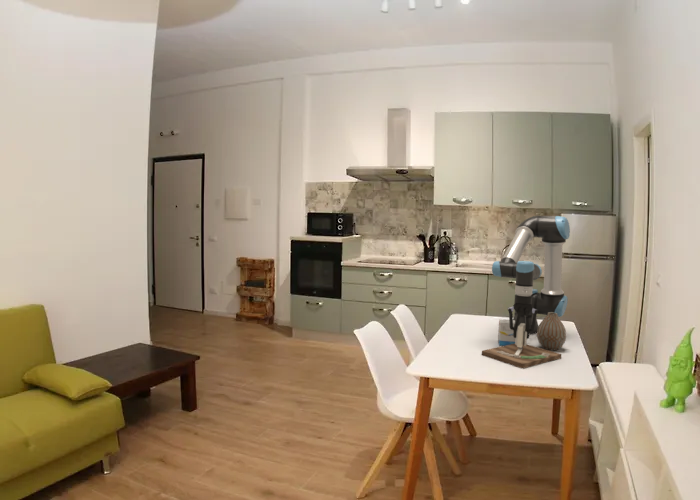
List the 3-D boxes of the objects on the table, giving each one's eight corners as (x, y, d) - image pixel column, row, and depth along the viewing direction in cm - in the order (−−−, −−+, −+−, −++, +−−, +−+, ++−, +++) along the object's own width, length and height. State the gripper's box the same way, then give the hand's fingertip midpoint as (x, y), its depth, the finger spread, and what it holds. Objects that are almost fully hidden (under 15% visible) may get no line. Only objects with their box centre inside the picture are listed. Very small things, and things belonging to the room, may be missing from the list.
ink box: (517, 347, 236) (518, 323, 235) (499, 345, 238) (500, 322, 237) (514, 342, 244) (516, 320, 244) (497, 341, 246) (498, 318, 245)
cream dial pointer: (519, 347, 227) (520, 323, 226) (524, 347, 226) (525, 323, 225) (513, 355, 213) (515, 330, 212) (518, 356, 212) (519, 330, 211)
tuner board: (519, 346, 237) (520, 341, 237) (561, 358, 219) (561, 353, 219) (481, 354, 222) (481, 350, 221) (522, 368, 204) (523, 363, 203)
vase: (536, 350, 231) (538, 314, 230) (535, 343, 244) (537, 309, 242) (566, 353, 227) (568, 317, 226) (564, 346, 239) (566, 311, 238)
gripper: (506, 295, 218) (503, 345, 220) (543, 297, 216) (540, 348, 218) (504, 292, 226) (501, 341, 228) (540, 294, 223) (537, 344, 225)
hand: (520, 344), depth 223 cm, fingers closed on cream dial pointer, 3 cm apart
